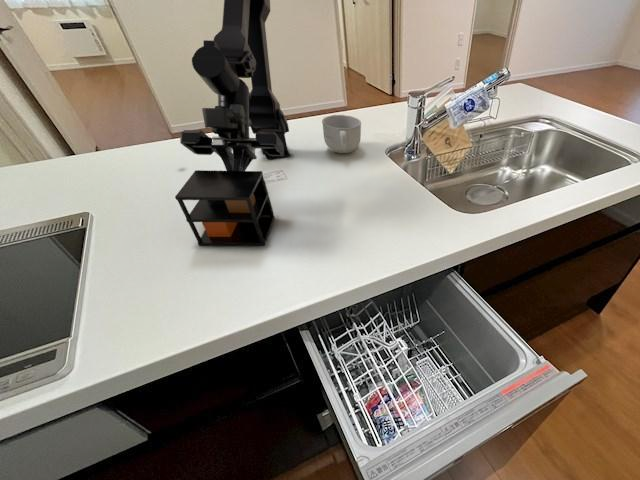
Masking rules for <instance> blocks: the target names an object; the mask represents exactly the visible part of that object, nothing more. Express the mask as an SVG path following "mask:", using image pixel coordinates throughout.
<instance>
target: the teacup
mask: <svg viewBox="0 0 640 480" xmlns="http://www.w3.org/2000/svg"><path fill="white" fill-rule="evenodd" d="M321 123H322V132H323V134H322V135H323V141H324V143H325V145H326V146H327V147H328V148H329V149H330V150H331V151H333V152H334V153H336V154H337V153H338V154H350V153H352V152H354V151H355V150H356V149H357V148H358V147H359V146H360V144H361V136H362V135H361V134H362V121H361V120H360V119H359V118H357V117H356V116H351V115H346V114H333V115H327V116H325V117H323V118H322V120H321Z"/></svg>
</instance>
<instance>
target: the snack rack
mask: <svg viewBox="0 0 640 480" xmlns="http://www.w3.org/2000/svg"><path fill="white" fill-rule="evenodd" d="M263 174H264V172H263V171H262V170H245V171H227V170H203V169H202V170H199V169H198V170H195V171H193V173H192V174H191V175H190V177H189V178H188V180H187V181H186V182H185V184H183V186H182V187H181V188H180V190H179V191H178V192H177V193H176V195H175V197H174V198H175V200H176V201H177V203H178V205H179V206H180V209H181V211H182V213H183V215H184V217H185V221H186V222H187V223H188V225H189V227H190V229H191V231H192V233H193V235H194V237H195V239H196V241H197V244H198V247H265V246H266V243H267V241H268V238H269V236H270V234H271V231H272V227H273V225H274V222H275V219H276V217H275V213H274V210H273V206H272V202H271V199H270V195H269V191H268V187H267V183H266V181H265V178H264V175H263ZM184 201H197V202H196V204H195V206H193V208H192V210H191V211H190V213H189V210H188V208H187V207H186V204H185V202H184ZM195 223H202V225H203V227H204V231H203V233H202V235H201V236H200V234H199V231H198V228H197V227H196V225H195Z"/></svg>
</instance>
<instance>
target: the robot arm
mask: <svg viewBox="0 0 640 480" xmlns="http://www.w3.org/2000/svg"><path fill="white" fill-rule="evenodd" d="M222 9H223V11H222V23H221V24H222V25H221V29H220V30H219V31H218V32H217V34H215V35H214V37H213V39H212V40H211V39H210V40H207V39H205V40H203V45H202V46H201V47H199V48H197V49H196V51H195V52H194V53H193V56H192V58H191V65H192V68H193V70H194V71H195V72H196V73H197V75H198V76H199V77H200V78H201V79H202V81H203V82H204V83H205V84H206V86H208V88H209V89H210V90H211V91H212V92H213V93H214V94H216V95H217V105H215V106H214V107H202V108H201V110H202V117H203V123H204V127H205V128H206V129H208V128H211V132H212V133H213V134H214V135H217V136H208V135H207V134H206V133H205V132H204V131H203V130H198V129H183V130H182V131H181V132H180V135H179V140H180V141H179V143H180V144H181V145H182V146H183V147H185V148H186V149H187V150H189V151H190V152H191V153H193V154H195V155H197V156H212V155H213V154H214V153H215V154H216V155H218V156H219V157H220V159H221V161H222V162H223V165H224V167H225V171H247V169H248V167H249V166H250V164H251V162H252V161H253V160H257V159H258V157H257V155H256V150H257V149H260V151H261V153H262V155H263V156H264V157H265V159H266V160H272V159H279V158H285V157H290V156H291V153H290V152H289V150H288V144H287V140H286V133H289V132H290V128H289V123H288V119H287V117H286V116H285V114H284V112H283V110H282V109H281V105H280V102H279V100H278V98H277V97H276V96H275V94H274V92H273V89H272V78H271V70H270V59H269V50H268V49H269V48H268V41H267V31H266V21H267V19H268V17H269V15H270V13H271V0H223V8H222ZM243 79H250V81H251V90H249V89H250V88H249V86H248V84H247V83H246V82H245V81H244V80H243ZM250 129H251V132H252V134H253V135H255V137H250Z"/></svg>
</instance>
